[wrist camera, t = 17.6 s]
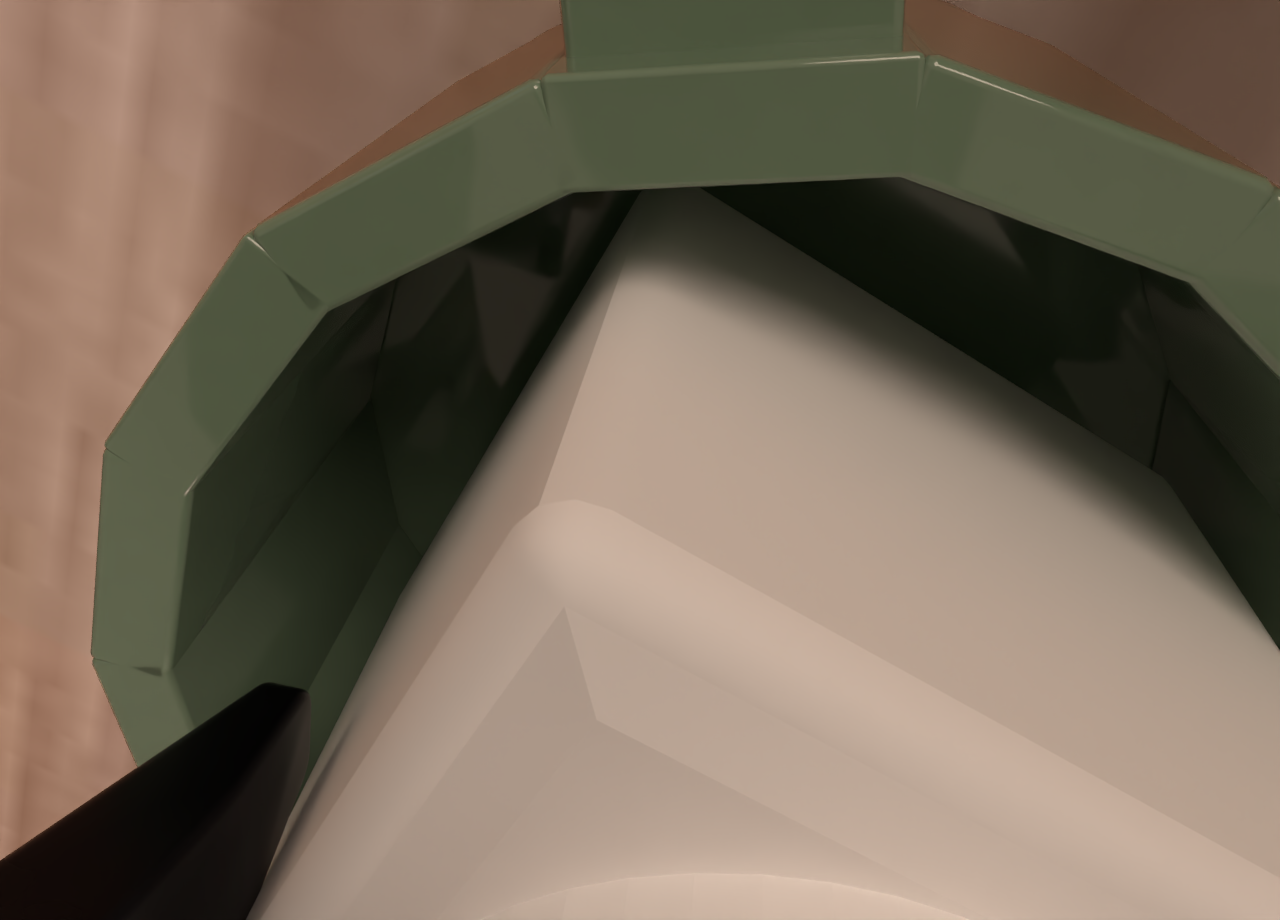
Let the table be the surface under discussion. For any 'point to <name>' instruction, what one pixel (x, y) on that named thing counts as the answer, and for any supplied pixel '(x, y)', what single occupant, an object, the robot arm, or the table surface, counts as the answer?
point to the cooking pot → (569, 252)
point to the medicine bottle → (794, 639)
